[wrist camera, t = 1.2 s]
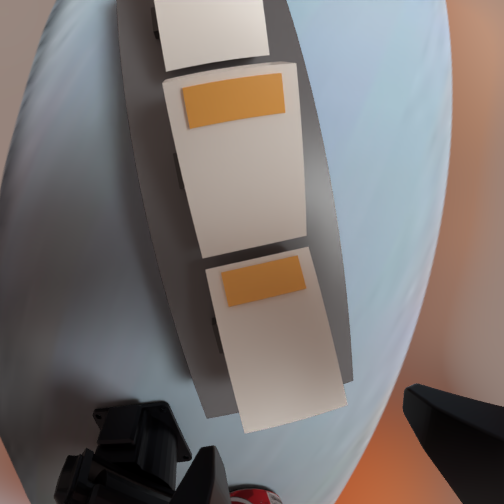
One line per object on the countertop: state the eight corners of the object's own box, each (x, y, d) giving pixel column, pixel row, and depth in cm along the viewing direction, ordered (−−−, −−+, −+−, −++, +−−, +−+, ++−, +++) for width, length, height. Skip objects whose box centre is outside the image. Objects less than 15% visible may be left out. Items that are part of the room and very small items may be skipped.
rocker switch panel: (331, 380, 23) (359, 422, 17) (216, 409, 22) (220, 460, 16) (256, -16, 16) (270, -62, 11) (129, 5, 16) (112, -39, 10)
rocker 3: (335, 397, 14) (349, 406, 12) (244, 421, 13) (244, 435, 11) (300, 256, 15) (309, 245, 13) (209, 276, 15) (204, 268, 13)
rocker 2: (293, 215, 15) (308, 238, 13) (199, 234, 14) (203, 261, 13) (280, 61, 11) (298, 63, 9) (165, 79, 10) (161, 83, 9)
